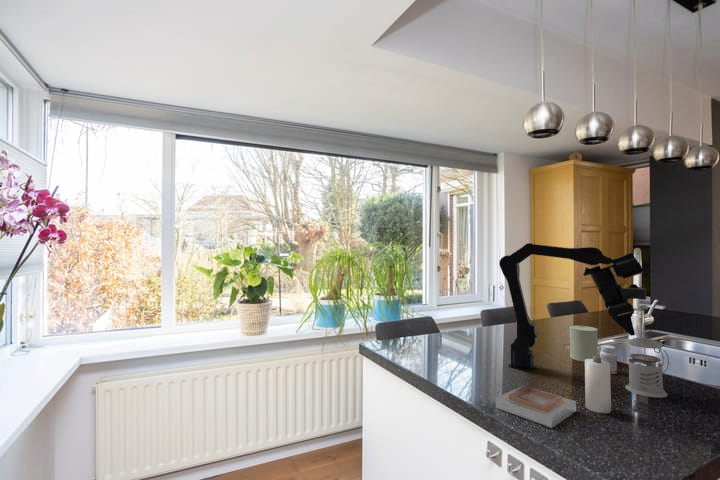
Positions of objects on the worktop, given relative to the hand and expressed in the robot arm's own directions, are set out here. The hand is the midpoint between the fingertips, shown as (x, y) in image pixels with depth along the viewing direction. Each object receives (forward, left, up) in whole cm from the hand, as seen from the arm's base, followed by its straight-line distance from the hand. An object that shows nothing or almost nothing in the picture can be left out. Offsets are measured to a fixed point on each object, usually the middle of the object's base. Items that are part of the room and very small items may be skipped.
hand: (631, 332), depth 111 cm
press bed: (-10, -41, -16) cm, 45 cm away
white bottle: (0, -28, -16) cm, 32 cm away
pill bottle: (-8, +7, -16) cm, 20 cm away
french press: (+5, -3, -16) cm, 17 cm away
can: (-19, +17, -16) cm, 31 cm away
